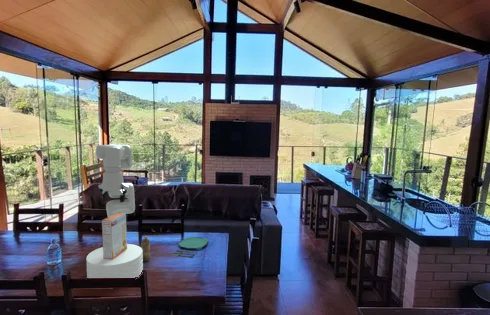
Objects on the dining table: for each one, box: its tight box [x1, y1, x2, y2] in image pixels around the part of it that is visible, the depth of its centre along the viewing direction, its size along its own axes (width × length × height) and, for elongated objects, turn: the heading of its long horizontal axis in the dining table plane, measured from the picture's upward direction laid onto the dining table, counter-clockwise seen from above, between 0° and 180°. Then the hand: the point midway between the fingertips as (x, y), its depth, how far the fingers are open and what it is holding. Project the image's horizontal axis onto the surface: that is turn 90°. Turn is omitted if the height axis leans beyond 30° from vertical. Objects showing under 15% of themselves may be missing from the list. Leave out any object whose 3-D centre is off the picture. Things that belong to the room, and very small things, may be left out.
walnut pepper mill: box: [140, 236, 151, 262], centre depth 182 cm, size 5×5×14 cm
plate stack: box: [86, 243, 144, 279], centre depth 165 cm, size 28×28×12 cm
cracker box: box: [101, 213, 128, 259], centre depth 163 cm, size 14×6×21 cm, turn 171°
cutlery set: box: [171, 236, 209, 258], centre depth 203 cm, size 20×30×2 cm, turn 166°
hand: (113, 201), depth 161 cm, fingers open, 9 cm apart
